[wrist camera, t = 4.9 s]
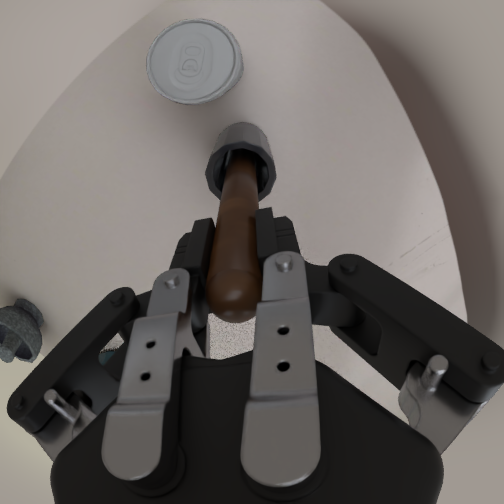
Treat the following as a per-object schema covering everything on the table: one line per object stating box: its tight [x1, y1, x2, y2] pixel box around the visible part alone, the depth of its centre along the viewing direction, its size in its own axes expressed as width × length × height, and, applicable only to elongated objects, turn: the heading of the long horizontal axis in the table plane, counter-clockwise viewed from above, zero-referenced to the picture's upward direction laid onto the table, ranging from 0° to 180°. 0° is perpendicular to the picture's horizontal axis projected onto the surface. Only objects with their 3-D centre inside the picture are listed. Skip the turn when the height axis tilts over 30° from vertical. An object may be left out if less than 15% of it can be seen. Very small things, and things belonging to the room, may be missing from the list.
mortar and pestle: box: [0, 299, 44, 363], centre depth 33 cm, size 11×9×12 cm
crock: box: [205, 122, 276, 202], centre depth 23 cm, size 5×5×8 cm
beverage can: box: [146, 19, 243, 105], centre depth 17 cm, size 5×5×12 cm
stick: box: [205, 148, 263, 323], centre depth 17 cm, size 2×2×20 cm
